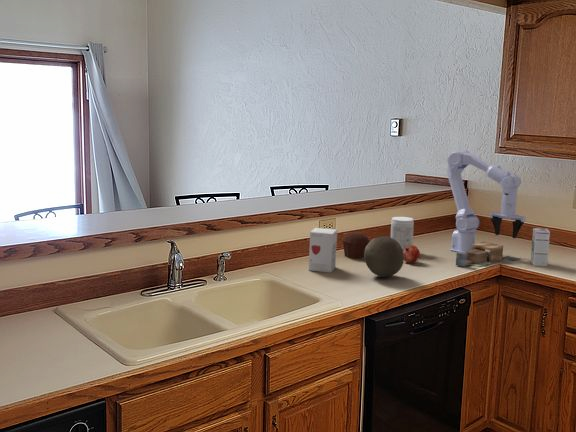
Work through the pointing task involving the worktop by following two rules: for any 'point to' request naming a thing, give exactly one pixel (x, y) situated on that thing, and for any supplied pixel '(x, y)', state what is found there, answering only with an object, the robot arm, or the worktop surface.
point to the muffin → (355, 245)
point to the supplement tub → (402, 230)
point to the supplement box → (322, 249)
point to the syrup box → (540, 247)
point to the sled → (471, 257)
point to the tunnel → (495, 250)
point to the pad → (480, 264)
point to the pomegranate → (411, 254)
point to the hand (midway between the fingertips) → (505, 236)
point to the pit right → (510, 258)
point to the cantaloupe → (384, 256)
